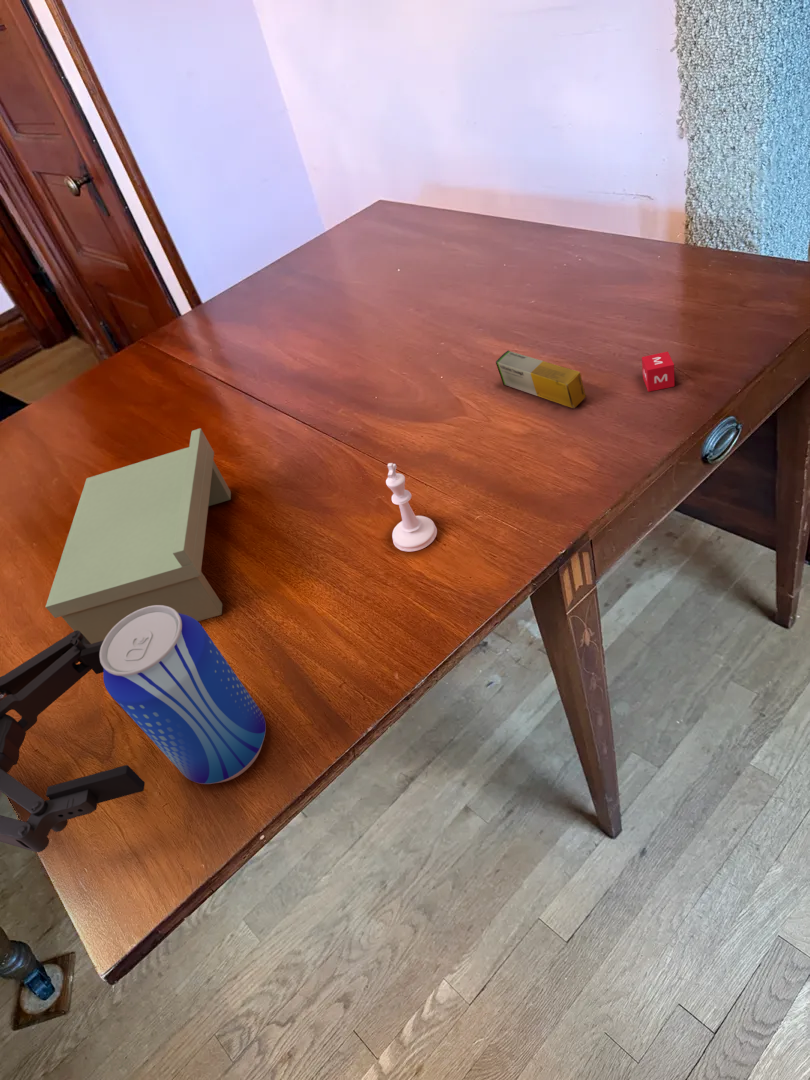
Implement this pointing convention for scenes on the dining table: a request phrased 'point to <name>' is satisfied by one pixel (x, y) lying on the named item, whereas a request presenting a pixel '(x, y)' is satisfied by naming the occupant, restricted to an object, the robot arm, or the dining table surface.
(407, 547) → the chess piece
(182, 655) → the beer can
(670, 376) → the red letter cube
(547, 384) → the medication box
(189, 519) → the shelf
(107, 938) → the dining table surface
